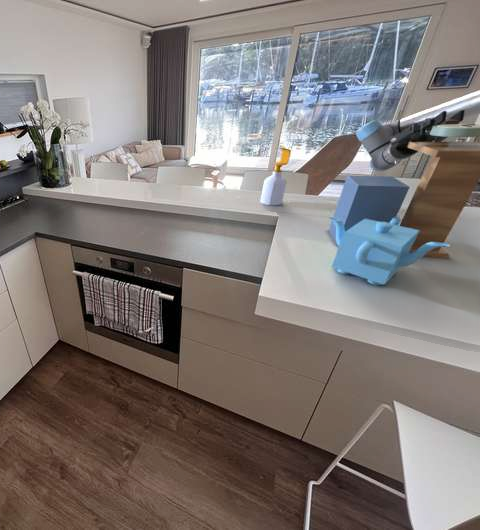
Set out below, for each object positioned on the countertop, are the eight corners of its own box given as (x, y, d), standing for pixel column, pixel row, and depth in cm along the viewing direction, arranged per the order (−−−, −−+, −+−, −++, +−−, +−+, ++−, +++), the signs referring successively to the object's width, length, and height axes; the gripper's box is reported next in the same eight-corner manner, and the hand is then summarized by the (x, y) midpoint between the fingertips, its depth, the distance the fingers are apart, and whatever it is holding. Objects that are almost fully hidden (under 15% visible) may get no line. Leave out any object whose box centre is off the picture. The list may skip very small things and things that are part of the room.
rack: (371, 233, 101) (409, 142, 86) (421, 237, 96) (471, 141, 81) (389, 254, 88) (438, 151, 73) (448, 259, 83) (514, 150, 68)
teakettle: (344, 289, 74) (366, 238, 67) (313, 255, 90) (328, 210, 83) (428, 292, 71) (460, 239, 64) (381, 256, 87) (402, 210, 80)
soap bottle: (255, 201, 136) (266, 146, 124) (271, 198, 139) (283, 144, 126) (269, 207, 129) (281, 149, 117) (286, 204, 131) (299, 146, 119)
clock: (405, 129, 91) (409, 118, 90) (450, 127, 88) (455, 116, 86) (442, 137, 74) (448, 124, 73) (501, 136, 70) (508, 122, 69)
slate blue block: (328, 231, 104) (347, 175, 94) (368, 234, 100) (392, 176, 90) (336, 245, 95) (358, 185, 85) (381, 249, 91) (409, 186, 81)
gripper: (430, 159, 99) (490, 128, 77) (373, 159, 104) (414, 130, 82) (433, 137, 99) (495, 99, 77) (376, 138, 104) (418, 103, 82)
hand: (453, 115), depth 79 cm, fingers closed on clock, 3 cm apart
